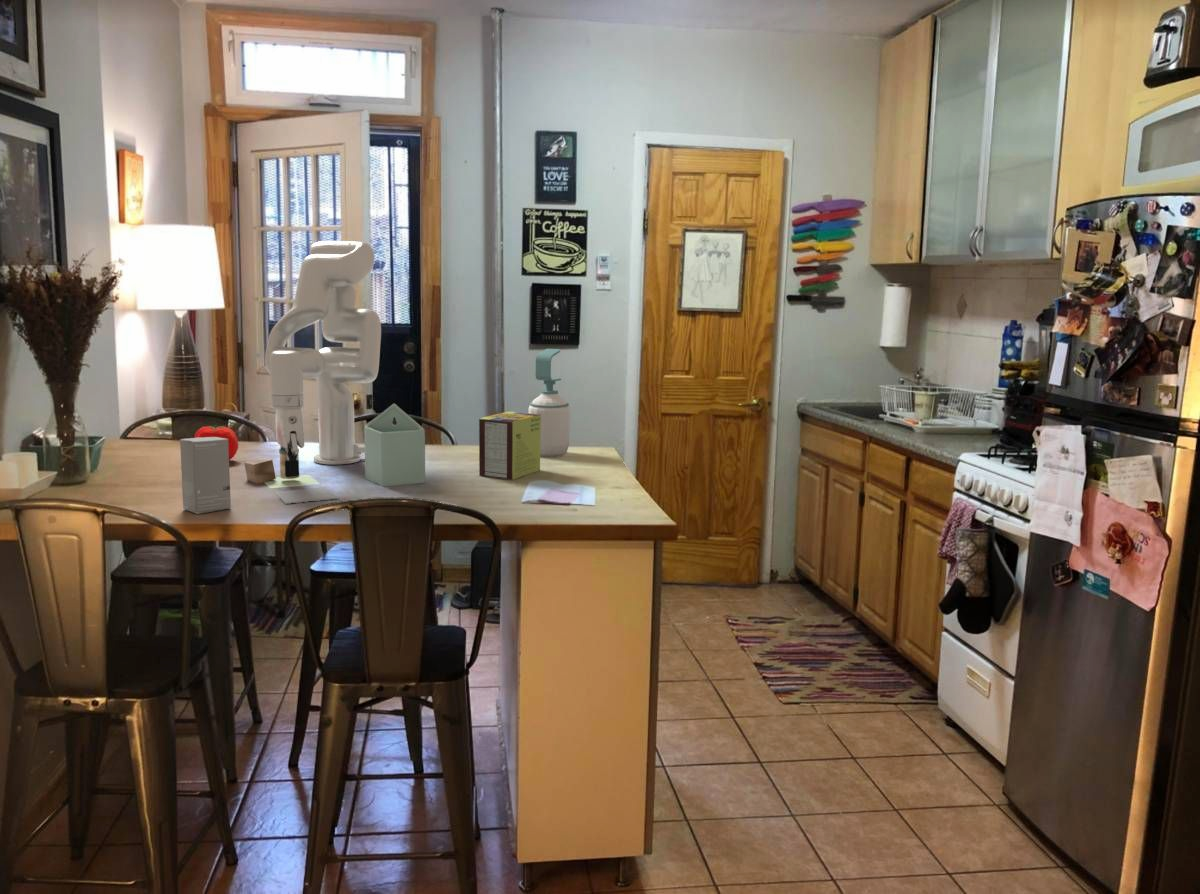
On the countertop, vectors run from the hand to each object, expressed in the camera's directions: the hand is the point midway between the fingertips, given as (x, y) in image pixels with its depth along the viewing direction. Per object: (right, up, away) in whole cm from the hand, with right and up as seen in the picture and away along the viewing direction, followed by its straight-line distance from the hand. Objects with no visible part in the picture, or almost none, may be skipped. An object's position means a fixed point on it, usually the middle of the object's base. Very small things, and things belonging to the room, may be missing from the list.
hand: (289, 473), depth 234 cm
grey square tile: (+8, -5, -13) cm, 16 cm away
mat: (0, -2, 0) cm, 2 cm away
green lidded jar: (0, -1, 0) cm, 1 cm away
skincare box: (-9, -7, -27) cm, 29 cm away
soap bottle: (+62, +4, +46) cm, 77 cm away
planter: (+24, -3, +3) cm, 24 cm away
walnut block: (-7, -2, +1) cm, 7 cm away
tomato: (-28, +2, +23) cm, 36 cm away
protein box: (+53, -1, +19) cm, 56 cm away
